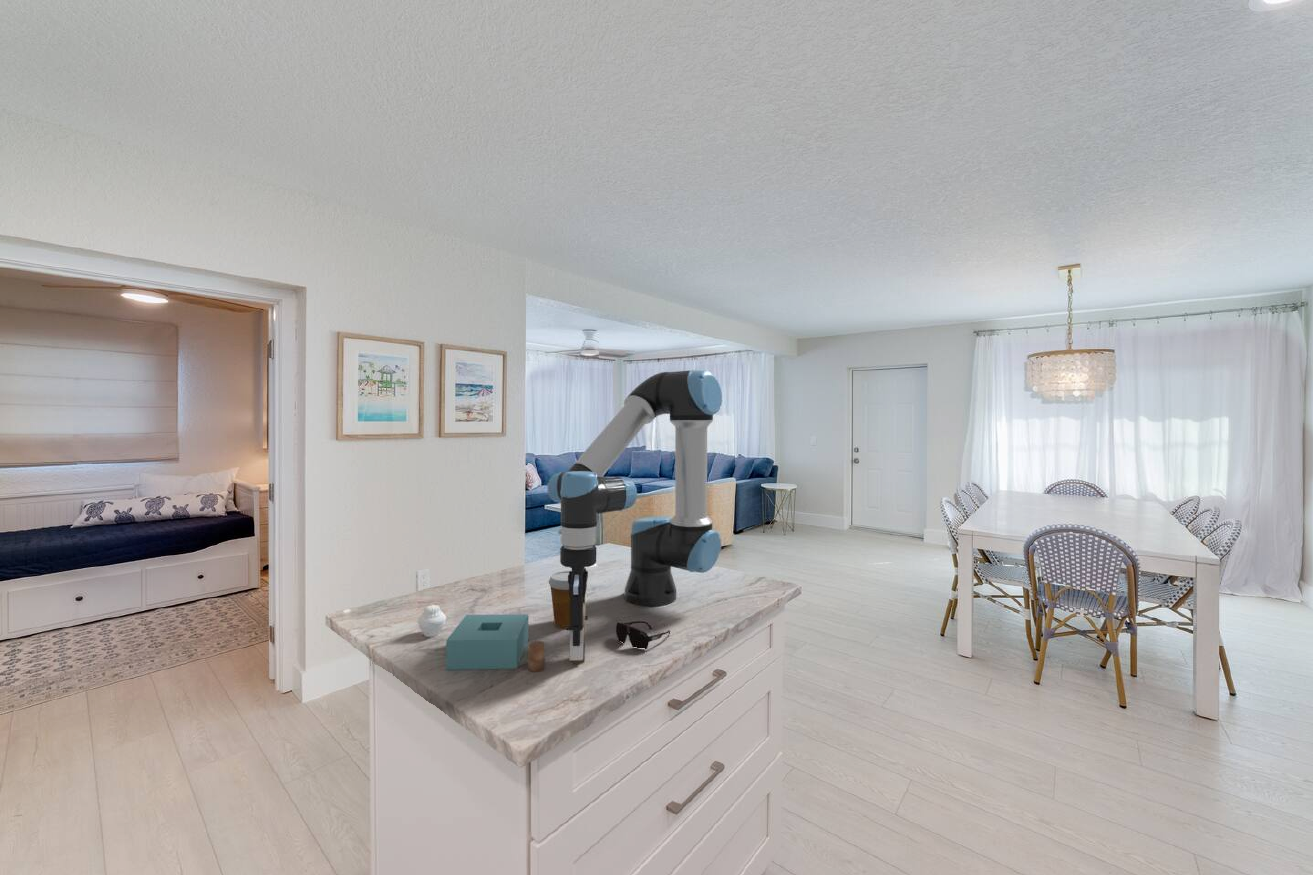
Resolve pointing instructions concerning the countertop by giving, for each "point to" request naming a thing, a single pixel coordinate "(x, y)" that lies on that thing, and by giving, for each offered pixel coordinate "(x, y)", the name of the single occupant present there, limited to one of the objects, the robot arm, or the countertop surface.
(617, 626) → the sunglasses
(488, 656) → the hole block
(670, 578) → the robot arm
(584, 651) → the tall pin
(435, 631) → the white ribbed jar
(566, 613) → the disposable coffee cup
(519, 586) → the countertop surface
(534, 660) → the short pin
